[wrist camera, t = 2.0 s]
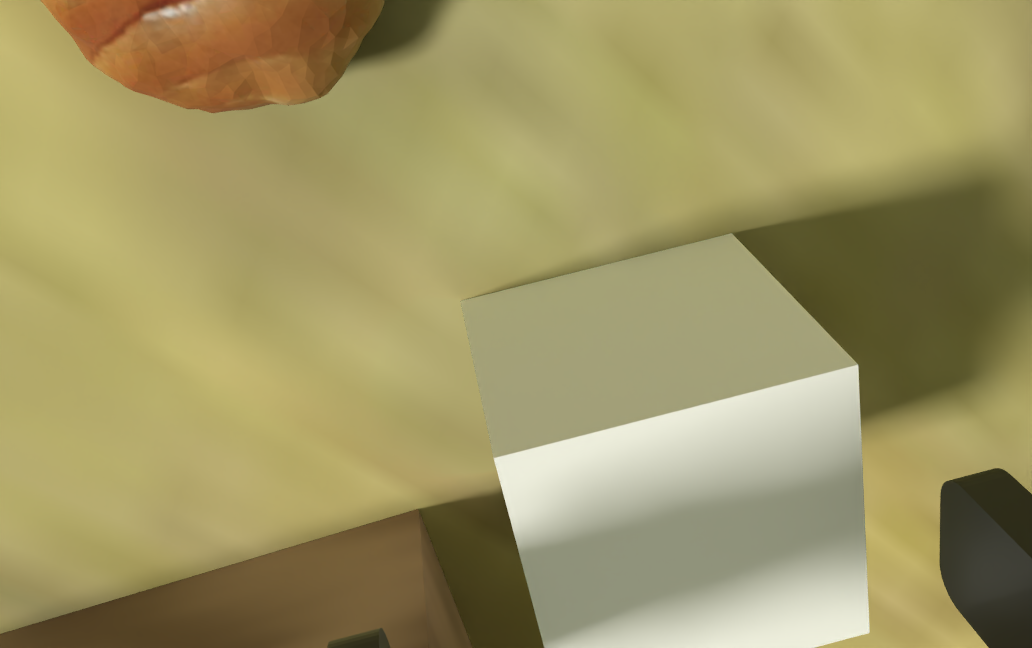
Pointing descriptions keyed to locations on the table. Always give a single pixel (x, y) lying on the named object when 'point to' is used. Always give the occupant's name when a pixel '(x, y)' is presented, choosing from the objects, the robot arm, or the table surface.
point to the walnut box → (282, 600)
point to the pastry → (220, 47)
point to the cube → (676, 454)
